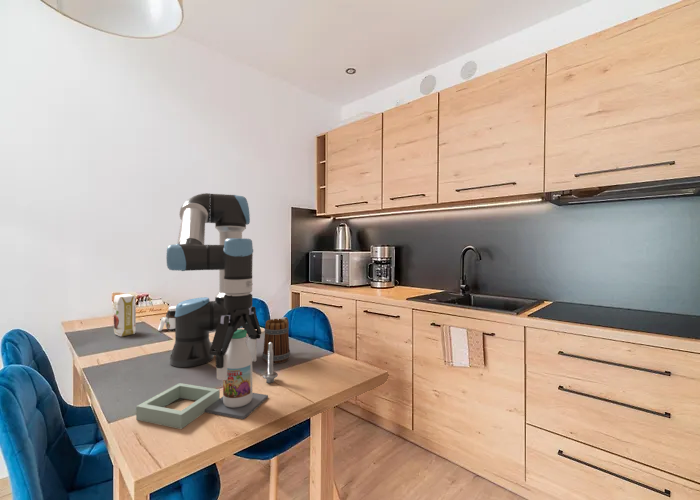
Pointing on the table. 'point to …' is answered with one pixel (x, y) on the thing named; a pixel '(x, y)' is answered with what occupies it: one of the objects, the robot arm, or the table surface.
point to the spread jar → (169, 320)
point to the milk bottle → (238, 372)
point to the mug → (277, 340)
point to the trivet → (237, 412)
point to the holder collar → (176, 418)
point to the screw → (270, 366)
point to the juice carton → (124, 314)
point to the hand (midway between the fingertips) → (237, 369)
